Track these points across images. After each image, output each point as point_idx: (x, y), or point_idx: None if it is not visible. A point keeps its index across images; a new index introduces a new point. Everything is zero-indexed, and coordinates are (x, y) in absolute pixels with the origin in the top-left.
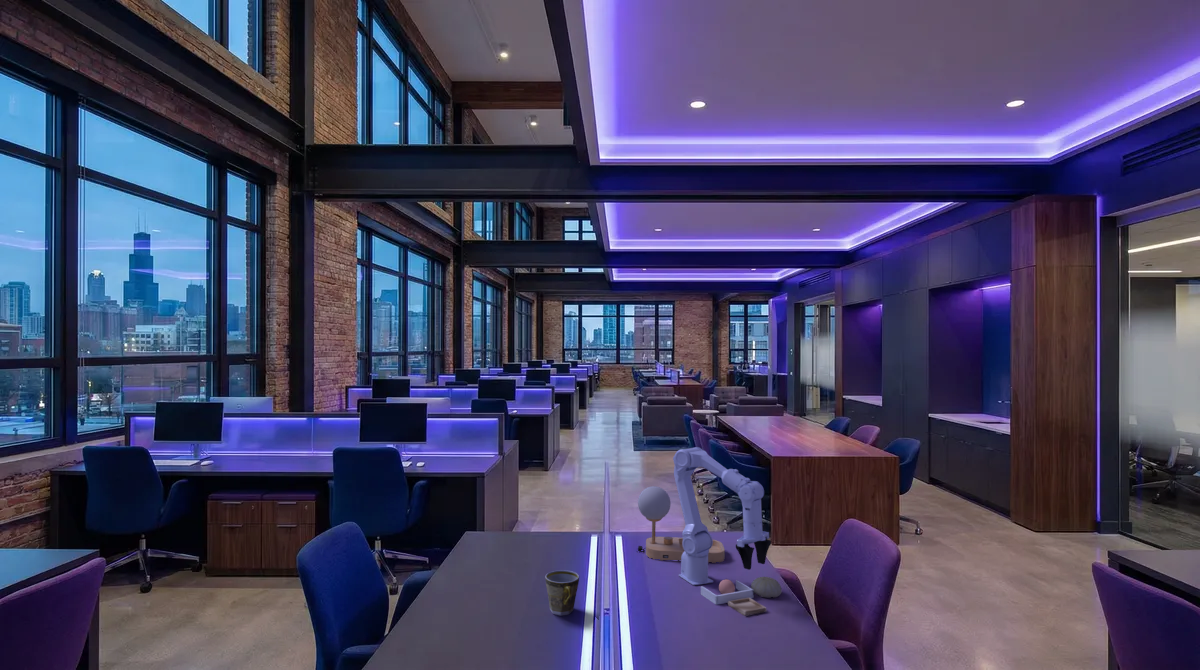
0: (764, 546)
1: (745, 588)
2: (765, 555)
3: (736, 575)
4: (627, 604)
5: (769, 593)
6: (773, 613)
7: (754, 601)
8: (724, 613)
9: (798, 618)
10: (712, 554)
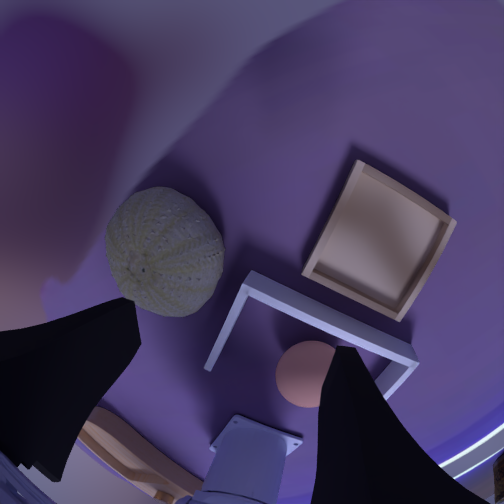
0: (14, 383)
1: (235, 321)
2: (73, 323)
3: (134, 373)
4: (475, 443)
5: (204, 214)
6: (346, 130)
7: (329, 235)
8: (462, 288)
9: (309, 40)
10: (120, 439)
